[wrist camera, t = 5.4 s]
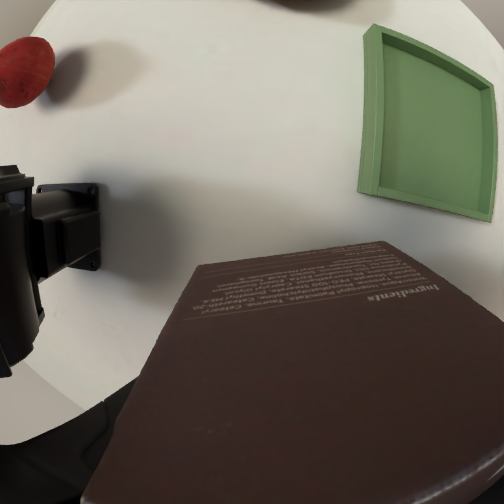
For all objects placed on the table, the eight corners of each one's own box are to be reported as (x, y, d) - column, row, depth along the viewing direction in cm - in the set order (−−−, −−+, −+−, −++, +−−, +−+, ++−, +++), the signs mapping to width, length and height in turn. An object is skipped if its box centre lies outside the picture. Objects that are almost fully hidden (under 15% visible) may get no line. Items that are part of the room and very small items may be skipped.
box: (195, 258, 8) (56, 495, 1) (387, 235, 8) (582, 372, 1) (228, 400, 10) (210, 569, 3) (373, 380, 10) (437, 527, 2)
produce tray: (356, 191, 17) (369, 194, 15) (363, 35, 13) (373, 23, 11) (475, 218, 17) (491, 223, 15) (479, 88, 14) (493, 84, 12)
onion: (63, 107, 15) (-9, 92, 7) (21, 116, 15) (-43, 110, 7) (80, 44, 13) (21, 11, 6) (36, 58, 13) (-20, 39, 5)
